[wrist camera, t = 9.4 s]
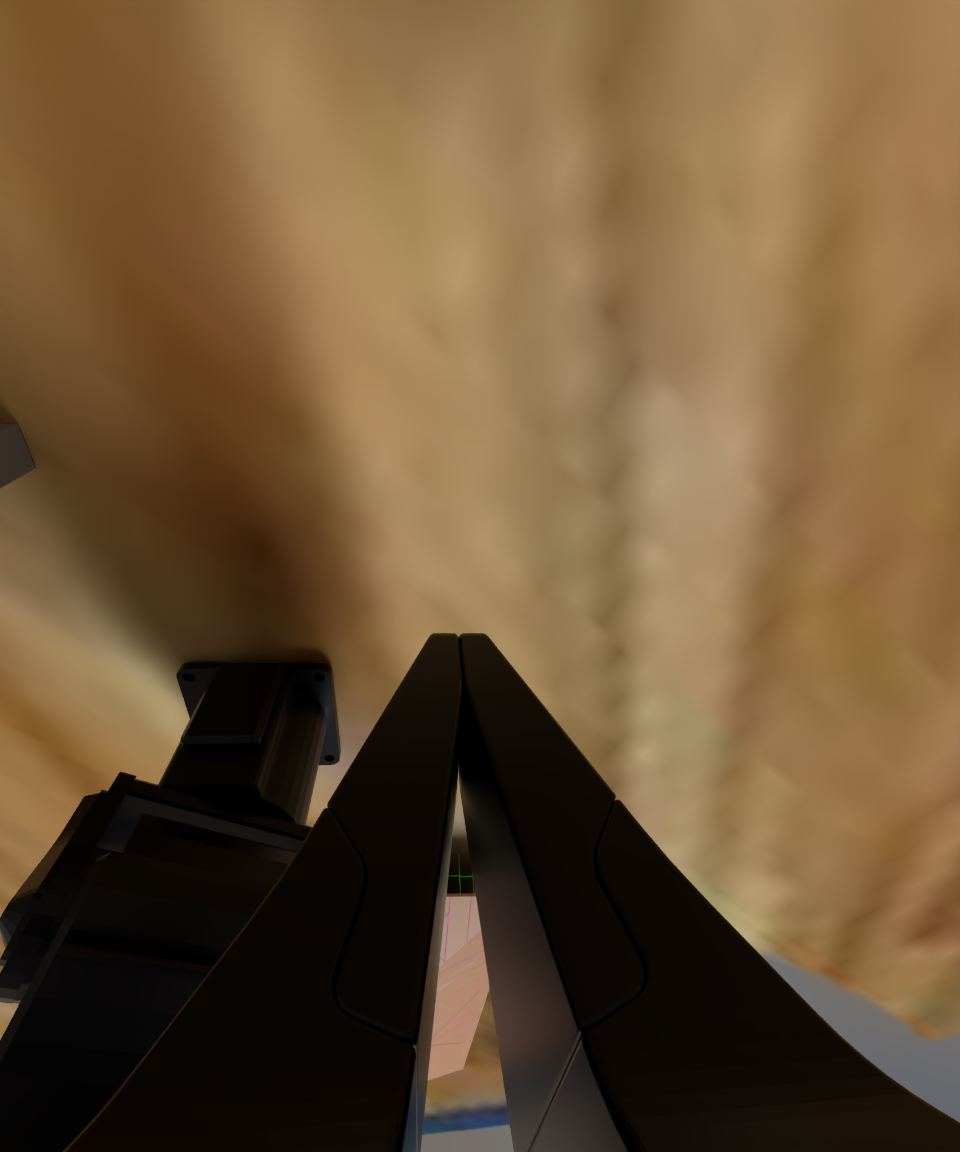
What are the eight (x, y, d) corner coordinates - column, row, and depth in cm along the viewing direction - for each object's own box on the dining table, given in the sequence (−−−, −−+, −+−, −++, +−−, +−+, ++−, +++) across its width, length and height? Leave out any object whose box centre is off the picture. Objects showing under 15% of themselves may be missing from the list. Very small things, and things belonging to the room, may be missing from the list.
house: (209, 1045, 48) (172, 1179, 41) (125, 841, 30) (35, 1016, 23) (458, 1033, 51) (462, 1156, 44) (512, 841, 33) (533, 996, 26)
